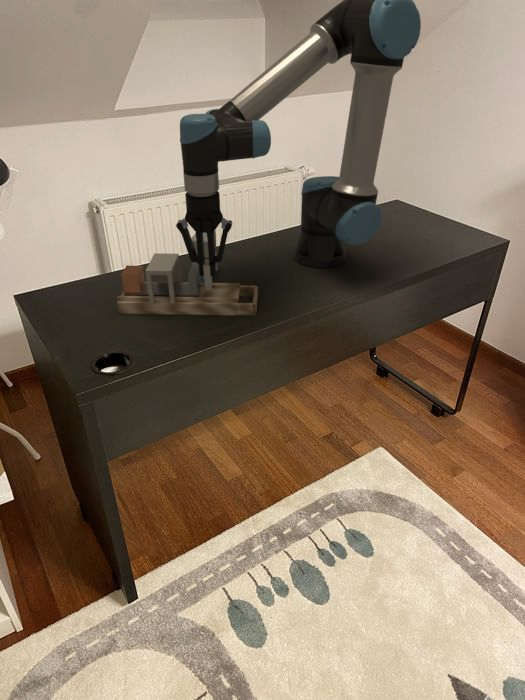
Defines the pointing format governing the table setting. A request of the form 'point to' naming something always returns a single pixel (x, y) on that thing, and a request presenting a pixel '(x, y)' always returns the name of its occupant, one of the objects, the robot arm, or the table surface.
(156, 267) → the tunnel
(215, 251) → the ink box
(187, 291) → the sled
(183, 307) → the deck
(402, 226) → the table surface
